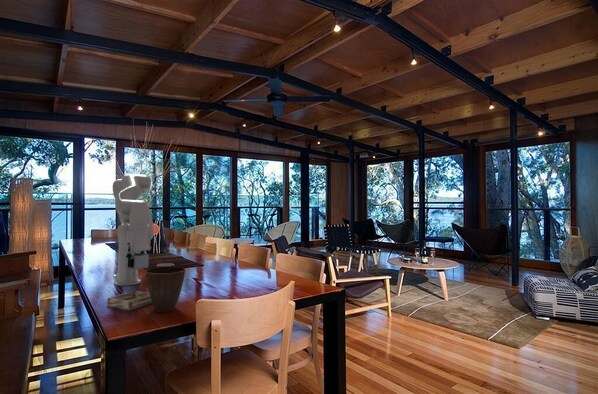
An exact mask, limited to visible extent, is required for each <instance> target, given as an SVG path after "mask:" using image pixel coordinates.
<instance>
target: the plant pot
mask: <svg viewBox="0 0 598 394" xmlns="http://www.w3.org/2000/svg"><path fill="white" fill-rule="evenodd" d="M150 268H151V269H150ZM150 268H149V269H146V270H145V277H146V285H147V290H148V293H149V294H150V297H151V301H152V306H153V308H154V311H155V312H156V313H167V312H168V313H169V312H173V311H174V310H175V308H176V306H177V303H178V301H179V298H180V295H181V292H182V287H183V283H184V280H185V274H186V268H185V267H181V266H174V267H157V266H156V268H152V267H150Z"/></svg>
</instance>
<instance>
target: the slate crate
mask: <svg viewBox="0 0 598 394" xmlns="http://www.w3.org/2000/svg"><path fill="white" fill-rule="evenodd" d="M133 259H134V267H133V268H131V267H128V258H127V257H126V256H125V268H131V269H138V270H141V269H147V268H149V259H150V254H149V253H148V254H142V253H140V252H139V253H135V254H134V257H133Z"/></svg>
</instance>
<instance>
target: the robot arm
mask: <svg viewBox="0 0 598 394" xmlns="http://www.w3.org/2000/svg"><path fill="white" fill-rule="evenodd" d="M151 180H152V179H151V177H150V176H149V175H146V174H138V173H137V174H136V173H135V174H134V173H128V174H124V175H123V176H122V178H121V179H119V178H118V179H116V180H114V181H113V183H112V194H113V197H114V199H115V203H114V204H115V210H116V213H117V214H118V218H119V222H120V224H119V225H118V227H117V231H116V232H117V233H116V234H117V240H118V241H117V242H118V257H117V258H118V259H117V273H116V274H114V275H113V278H114V279H115V280H114V281H113V284H114V286H119V287H120V286H123V287H124V286H134V285H138V284H140V283H141V281H142V280H141V278H138V277H139V269H131V268H133V267H134V259H133V257H134V254H135V253H142V254H149V252H150V250H151V249H152V246H151V245H150V243H149V241H151V240H152V239H153V238H154V236H155V228H154V222H153V217H152V212H151V210H150V204H149V203H148V201H146V200H141V199H139V198H140V197H141V196H143V195H145V194H147V193H148V192H149V191H150V190H151V187H152V181H151ZM125 256H126V257H127V258H128V267H131V268H125Z"/></svg>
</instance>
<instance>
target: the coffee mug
mask: <svg viewBox="0 0 598 394" xmlns="http://www.w3.org/2000/svg"><path fill="white" fill-rule="evenodd" d="M157 267H175V264H174V263H170V262H166V263H158V264H156V266H152V267H150V268H149V269H151V268H157Z"/></svg>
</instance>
